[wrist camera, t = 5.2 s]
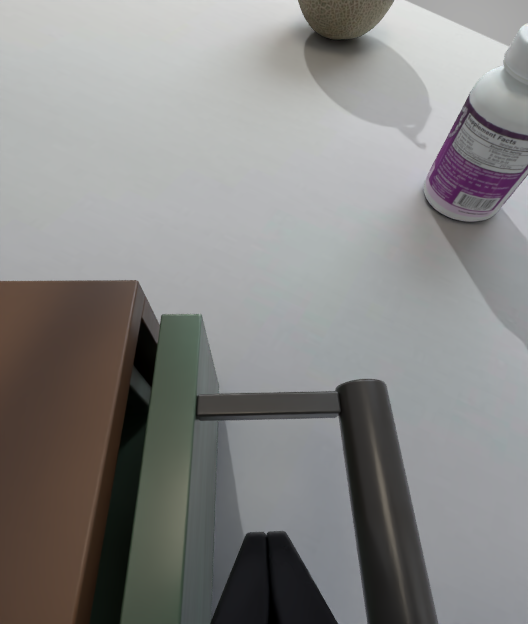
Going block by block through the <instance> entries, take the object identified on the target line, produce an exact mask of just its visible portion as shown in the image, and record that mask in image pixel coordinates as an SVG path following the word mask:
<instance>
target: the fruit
mask: <svg viewBox="0 0 528 624" xmlns="http://www.w3.org/2000/svg"><path fill="white" fill-rule="evenodd" d="M298 2H299V5H300V8H301V11H302V13H303V15H304V17H305V19H306V21H307V22H308V23H309V25H310V26H311V28H312V29H313V30H314V31H315V32H317V33H318V34H320V35H322V36H323V37H326V38H330V39H353V38H356V37H359V36H362V35H364V34H365V33H367V32H368V31H370V30H371V29H373V28H374V27H375V26H376V25H377V24H378V23H379V22H380V20H381V19H382V18H383V17H384V15H385V14H386V13H387V11H388V10H389V8H390V7H391V5H392V3H393V2H394V0H298Z"/></svg>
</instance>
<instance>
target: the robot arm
mask: <svg viewBox="0 0 528 624" xmlns="http://www.w3.org/2000/svg"><path fill="white" fill-rule="evenodd" d="M210 624H338V623H337V621H336V619H335V618H334V616H333V614H332V612H331V611H330V609H329V607H328V605H327V604H326V602H325V600H324V598H323V597H322V595H321V593H320V591H319V589H318V588H317V586H316V584H315V582H314V581H313V579H312V577H311V575H310V574H309V572H308V570H307V568H306V567H305V565H304V563H303V561H302V559H301V558H300V556H299V554H298V552H297V551H296V549H295V547H294V545H293V544H292V542H291V540H290V538H289V537H288V535H287V534H286V532H284V531H273V532H268V533H267V535H266V534H265V533H264V532H250V533H247V534H246V536H245V538H244V541H243V543H242V546H241V548H240V551H239V553H238V556H237V558H236V561H235V563H234V566H233V568H232V571H231V573H230V576H229V578H228V581H227V583H226V586H225V588H224V591H223V593H222V596H221V598H220V601H219V603H218V606H217V608H216V611H215V613H214V616H213V618H212V621H211V623H210Z"/></svg>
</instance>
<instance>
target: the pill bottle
mask: <svg viewBox="0 0 528 624" xmlns="http://www.w3.org/2000/svg"><path fill="white" fill-rule="evenodd" d="M504 57H505V58H504V61H503V64H504V66H500V67H497V68H495V69H493V70H491V71H489V72H488V73H486V74H485V75H483V76H482V77H481V78H480V79H479V80H478V81H477V83H476V84H475V86H474V87H473V89H472V90H471V92H470V94H469V96H468V98H467V100H466V102H465V104H464V106H463V108H462V110H461V112H460V114H459V115H458V117H457V119H456V121H455V123H454V125H453V127H452V129H451V131H450V133H449V135H448V137H447V139H446V140H445V142H444V144H443V146H442V148H441V150H440V152H439V154H438V156H437V158H436V159H435V161H434V163H433V165H432V167H431V169H430V171H429V173H428V175H427V177H426V180H425V182H424V193H425V196H426V199H427V200H428V202H429V203H430V204H431V205H432V207H433V208H434V209H436V210H437V211H438V212H440V213H442V214H443V215H445V216H447V217H449V218H452V219H455V220H460V221H481V220H486V219H488V218H490V217H492V216H493V215H495V214H496V213H497V212H498V211H499V209H500V208H501V207H502V206H503V205H504V204H505V202H506V201H507V200H508V198H509V197H510V196H511V195H512V194H513V192H514V191H515V190H516V189H517V187H518V186H519V185H520V184H521V183H522V181H523V180H524V179H525V178H526V176H527V175H528V23H527V24H525V25H524V26H522V27H521V29H520V30H519V31H518V33H517V35H516V36H515V38H514V40H513V42H512V43H511V45H510V47H509V48H508V50H507V51H506V53H505V56H504Z"/></svg>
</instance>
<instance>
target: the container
mask: <svg viewBox="0 0 528 624" xmlns="http://www.w3.org/2000/svg"><path fill="white" fill-rule="evenodd" d="M338 415H339V422H340V430H341V437H342V444H343V451H344V458H345V465H346V473H347V480H348V487H349V494H350V501H351V509H352V516H353V523H354V530H355V537H356V545H357V552H358V559H359V566H360V573H361V580H362V588H363V595H364V602H365V609H366V616H367V624H438V620H437V616H436V611H435V607H434V602H433V597H432V593H431V588H430V584H429V579H428V574H427V570H426V565H425V561H424V556H423V551H422V547H421V542H420V538H419V533H418V528H417V524H416V519H415V515H414V510H413V505H412V501H411V496H410V492H409V487H408V483H407V478H406V473H405V469H404V464H403V460H402V455H401V450H400V446H399V441H398V437H397V432H396V427H395V423H394V418H393V414H392V409H391V404H390V400H389V395H388V391H387V386H386V384H385V383H384V382H383V381H380V380H375V379H359V380H353V381H349V382H345V383H343V384H341V385H339V386H337V388H336V390H335V391H326V392H278V393H230V394H219V383H218V379H217V375H216V371H215V367H214V363H213V359H212V355H211V351H210V347H209V343H208V338H207V334H206V330H205V326H204V322H203V318H202V315H201V314H163V315H162V316H161V322H160V330H159V337H158V344H157V352H156V359H155V366H154V374H153V381H152V388H151V386H150V385H149V384H148V383H147V381H146V380H145V379H144V377H143V376H142V375H141V374H140V372H139V371H138V370H137V369H136V367H135V366H134V365H133V369H132V375H131V381H130V386H129V392H128V398H127V404H126V410H125V416H124V422H123V428H122V434H121V439H120V445H119V451H118V457H117V463H116V469H115V475H114V481H113V487H112V492H111V498H110V504H109V510H108V516H107V522H106V528H105V534H104V540H103V545H102V551H101V557H100V563H99V569H98V575H97V581H96V587H95V593H94V598H93V604H92V610H91V616H90V622H89V624H210V623H211V611H212V582H213V553H214V524H215V495H216V466H217V437H218V421H221V420H262V419H302V418H335V417H337V416H338Z"/></svg>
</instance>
